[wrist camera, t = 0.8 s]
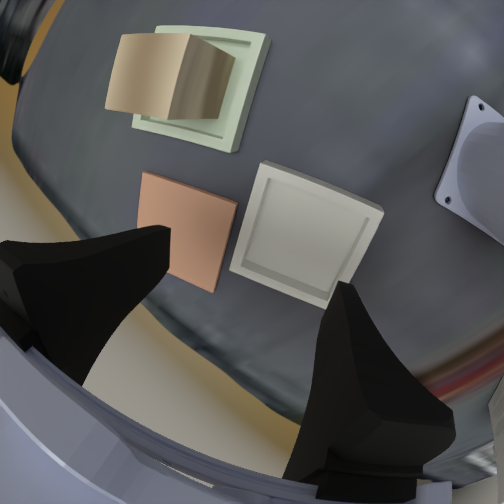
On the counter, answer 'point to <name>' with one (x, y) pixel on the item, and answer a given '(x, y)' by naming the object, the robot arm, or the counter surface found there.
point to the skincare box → (498, 434)
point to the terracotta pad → (188, 226)
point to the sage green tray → (236, 96)
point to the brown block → (169, 76)
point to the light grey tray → (302, 234)
